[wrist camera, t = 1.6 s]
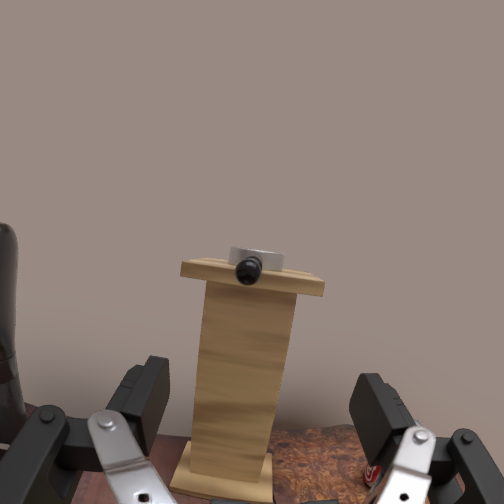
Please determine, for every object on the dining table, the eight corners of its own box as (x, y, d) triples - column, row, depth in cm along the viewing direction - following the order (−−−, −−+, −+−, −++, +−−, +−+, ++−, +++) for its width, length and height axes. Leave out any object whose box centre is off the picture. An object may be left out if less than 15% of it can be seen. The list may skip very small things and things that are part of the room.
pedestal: (270, 507, 29) (325, 281, 28) (169, 490, 29) (181, 261, 29) (270, 458, 41) (307, 271, 40) (187, 445, 41) (205, 257, 41)
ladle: (300, 294, 17) (305, 260, 17) (190, 278, 17) (195, 244, 17) (280, 268, 38) (282, 253, 38) (231, 261, 39) (233, 246, 39)
